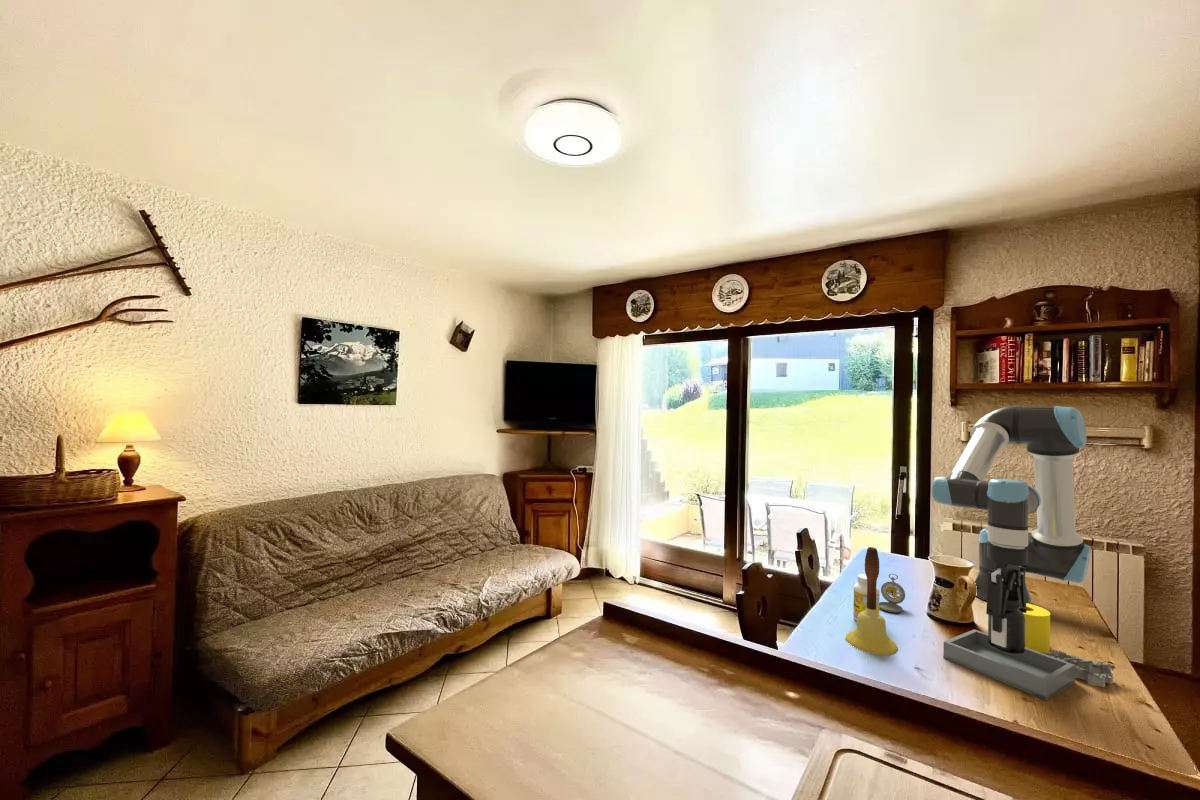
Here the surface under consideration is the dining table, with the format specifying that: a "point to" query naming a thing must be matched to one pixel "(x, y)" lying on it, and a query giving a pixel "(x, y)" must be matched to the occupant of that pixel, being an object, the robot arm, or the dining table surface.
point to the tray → (1011, 665)
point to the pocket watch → (892, 602)
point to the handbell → (871, 616)
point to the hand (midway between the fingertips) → (1006, 641)
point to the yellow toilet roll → (1037, 628)
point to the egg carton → (1088, 669)
